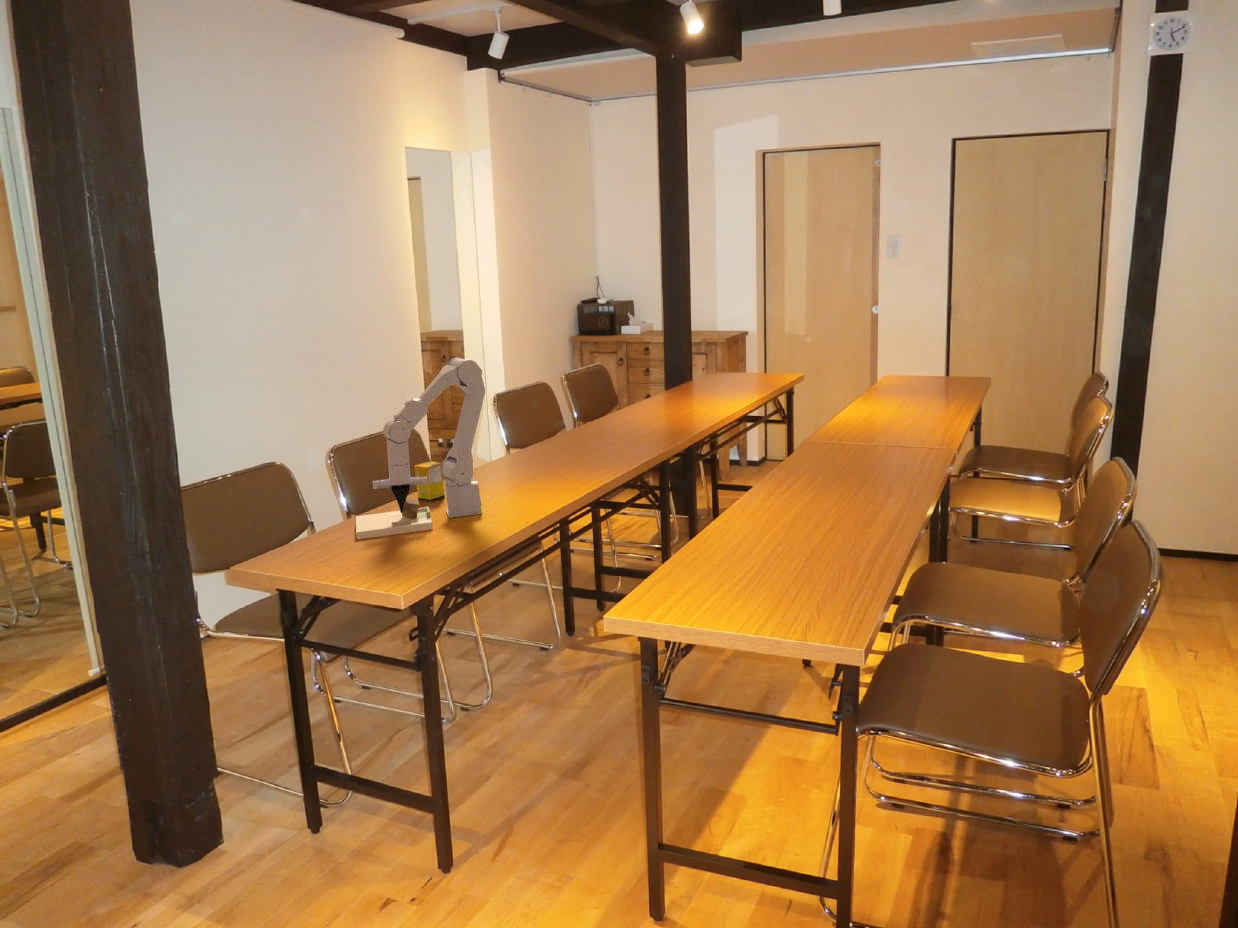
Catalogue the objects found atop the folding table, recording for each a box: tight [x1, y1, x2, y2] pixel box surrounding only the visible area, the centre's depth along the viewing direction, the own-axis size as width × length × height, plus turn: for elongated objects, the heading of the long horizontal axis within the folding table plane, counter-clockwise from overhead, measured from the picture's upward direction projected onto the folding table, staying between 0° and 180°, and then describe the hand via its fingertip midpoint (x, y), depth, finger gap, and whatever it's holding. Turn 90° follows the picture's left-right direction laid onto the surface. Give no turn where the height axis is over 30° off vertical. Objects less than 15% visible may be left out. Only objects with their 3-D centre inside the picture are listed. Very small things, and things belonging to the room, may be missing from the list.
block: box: [402, 498, 420, 518], centre depth 269 cm, size 4×4×4 cm
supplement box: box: [413, 461, 446, 503], centre depth 295 cm, size 6×6×11 cm
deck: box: [355, 506, 434, 540], centre depth 269 cm, size 20×16×4 cm
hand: (402, 511), depth 269 cm, fingers closed, pressing on block
